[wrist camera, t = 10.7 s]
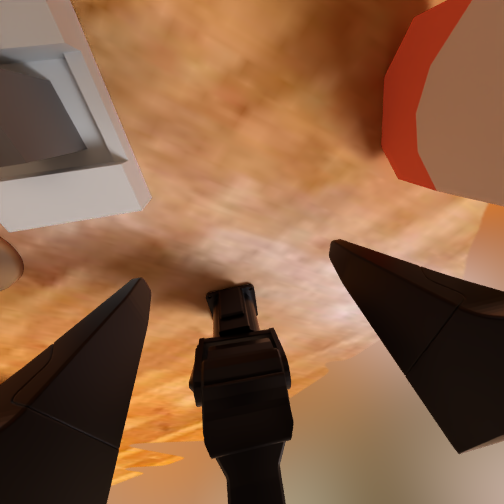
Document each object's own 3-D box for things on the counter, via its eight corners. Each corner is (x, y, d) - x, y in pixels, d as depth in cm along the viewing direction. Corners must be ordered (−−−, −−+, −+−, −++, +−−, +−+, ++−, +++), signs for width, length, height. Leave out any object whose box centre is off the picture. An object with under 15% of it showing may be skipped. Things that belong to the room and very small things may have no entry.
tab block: (87, 149, 15) (27, 162, 10) (32, 157, 15) (-57, 176, 10) (49, 80, 13) (-53, 55, 8) (-16, 89, 12) (-165, 69, 7)
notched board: (151, 198, 18) (142, 210, 16) (38, 216, 17) (9, 232, 15) (58, -29, 11) (10, -75, 8) (-147, -15, 10) (-268, -61, 8)
